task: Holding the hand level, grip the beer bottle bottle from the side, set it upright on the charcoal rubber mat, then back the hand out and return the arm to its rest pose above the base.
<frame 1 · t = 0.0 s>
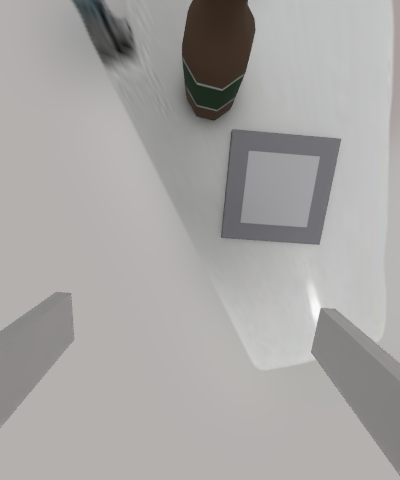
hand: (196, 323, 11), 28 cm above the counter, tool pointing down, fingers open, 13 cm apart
mat: (276, 190, 37), on the counter
beer bottle: (210, 96, 34), on the counter
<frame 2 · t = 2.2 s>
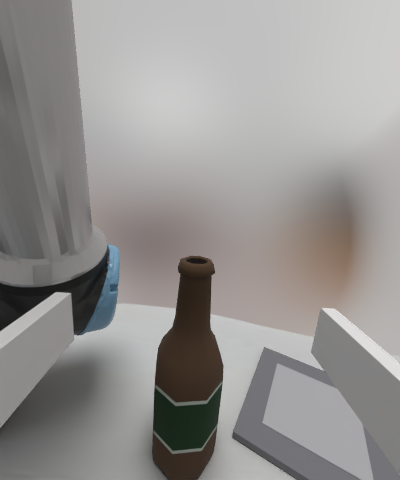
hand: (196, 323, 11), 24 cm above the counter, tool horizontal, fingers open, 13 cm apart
mat: (311, 415, 30), on the counter
beer bottle: (182, 445, 26), on the counter
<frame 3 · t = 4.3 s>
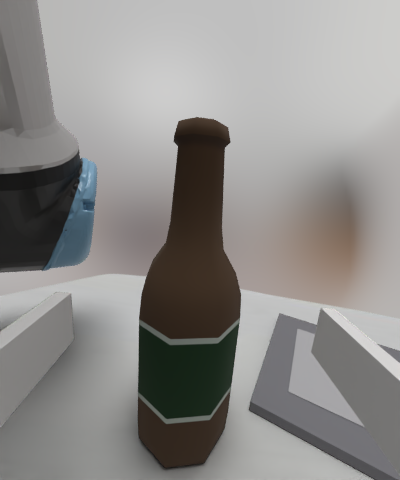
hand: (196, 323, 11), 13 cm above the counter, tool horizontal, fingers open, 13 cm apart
mat: (349, 384, 23), on the counter
beer bottle: (181, 420, 19), on the counter
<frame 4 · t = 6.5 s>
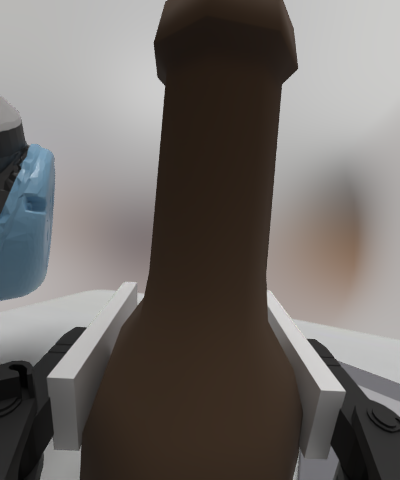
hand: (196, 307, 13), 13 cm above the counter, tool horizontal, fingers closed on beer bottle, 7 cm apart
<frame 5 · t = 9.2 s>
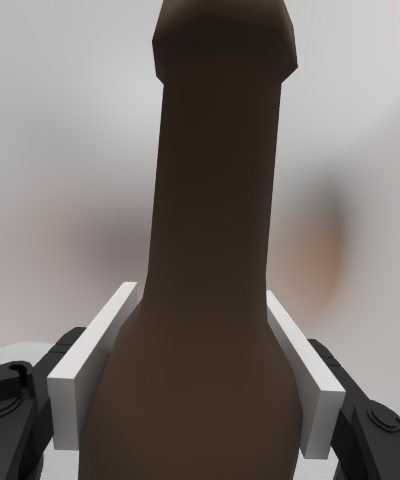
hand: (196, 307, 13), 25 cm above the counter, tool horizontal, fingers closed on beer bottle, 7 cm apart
when the fingers open (15 cm above the counter, at t = 12.2 s): beer bottle stays where it is, resting on mat.
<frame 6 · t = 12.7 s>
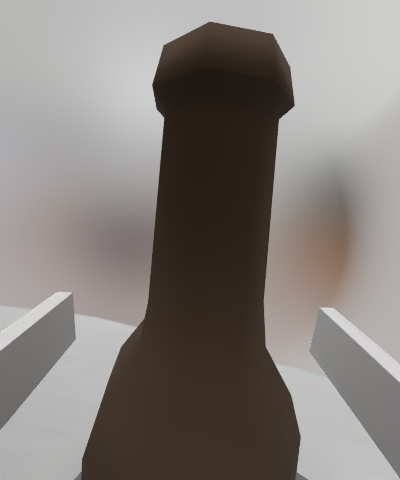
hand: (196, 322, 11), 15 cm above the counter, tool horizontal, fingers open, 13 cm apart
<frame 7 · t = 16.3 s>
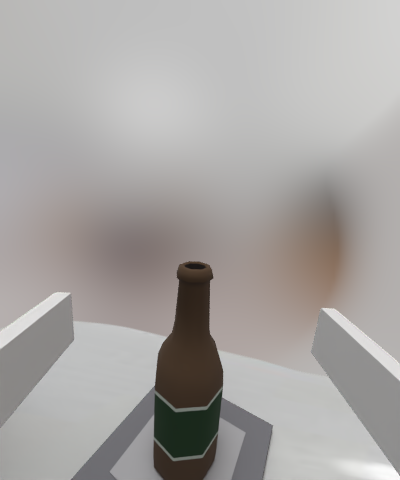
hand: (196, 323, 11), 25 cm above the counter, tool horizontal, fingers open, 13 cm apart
mat: (183, 457, 26), on the counter
beer bottle: (183, 452, 26), point 1 cm above the counter, touching mat
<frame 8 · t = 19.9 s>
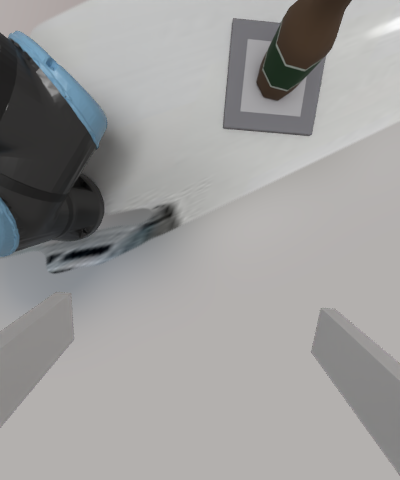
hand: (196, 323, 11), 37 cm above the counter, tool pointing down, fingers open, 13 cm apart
mat: (273, 82, 41), on the counter
beer bottle: (274, 80, 40), point 1 cm above the counter, touching mat
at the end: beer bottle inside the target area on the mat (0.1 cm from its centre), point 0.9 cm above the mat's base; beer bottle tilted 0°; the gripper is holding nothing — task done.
